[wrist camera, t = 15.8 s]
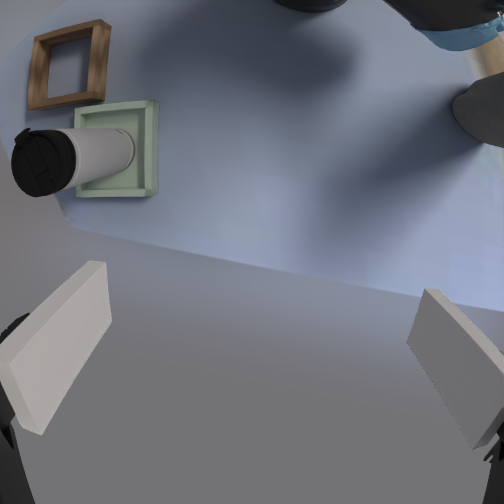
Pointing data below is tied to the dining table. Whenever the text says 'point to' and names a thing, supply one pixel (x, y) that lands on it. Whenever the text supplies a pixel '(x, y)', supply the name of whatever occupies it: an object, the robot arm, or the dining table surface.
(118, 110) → the tray
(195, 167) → the dining table surface
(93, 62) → the holder
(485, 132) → the vase
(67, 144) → the travel mug
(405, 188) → the dining table surface
